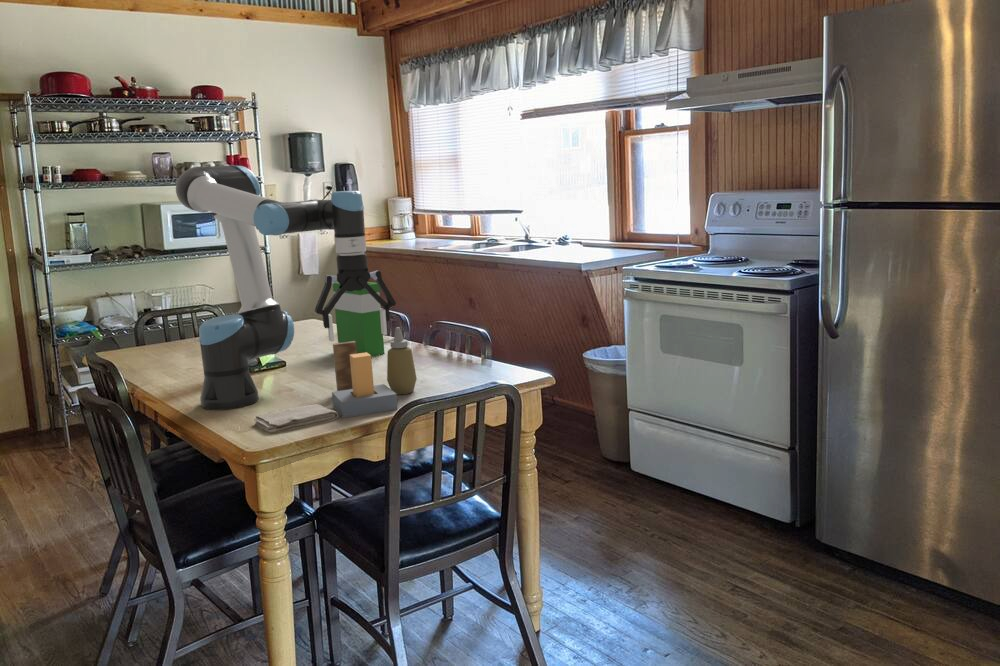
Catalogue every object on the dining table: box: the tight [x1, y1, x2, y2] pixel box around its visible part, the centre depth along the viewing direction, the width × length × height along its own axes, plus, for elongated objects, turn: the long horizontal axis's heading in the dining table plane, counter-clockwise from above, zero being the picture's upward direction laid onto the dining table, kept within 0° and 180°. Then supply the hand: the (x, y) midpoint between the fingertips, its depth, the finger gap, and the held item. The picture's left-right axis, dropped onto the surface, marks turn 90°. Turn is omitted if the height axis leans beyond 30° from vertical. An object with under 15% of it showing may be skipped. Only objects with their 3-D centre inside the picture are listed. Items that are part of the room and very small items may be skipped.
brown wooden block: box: [332, 341, 357, 391], centre depth 233 cm, size 6×2×14 cm, turn 112°
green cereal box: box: [332, 281, 385, 358], centre depth 285 cm, size 18×7×24 cm, turn 40°
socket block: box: [331, 383, 399, 419], centre depth 216 cm, size 14×12×4 cm
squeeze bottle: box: [386, 326, 417, 395], centre depth 229 cm, size 8×8×18 cm
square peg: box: [350, 352, 375, 397], centre depth 215 cm, size 4×4×14 cm
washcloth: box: [254, 403, 339, 434], centre depth 208 cm, size 12×18×3 cm, turn 126°
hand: (358, 337), depth 213 cm, fingers open, 13 cm apart
